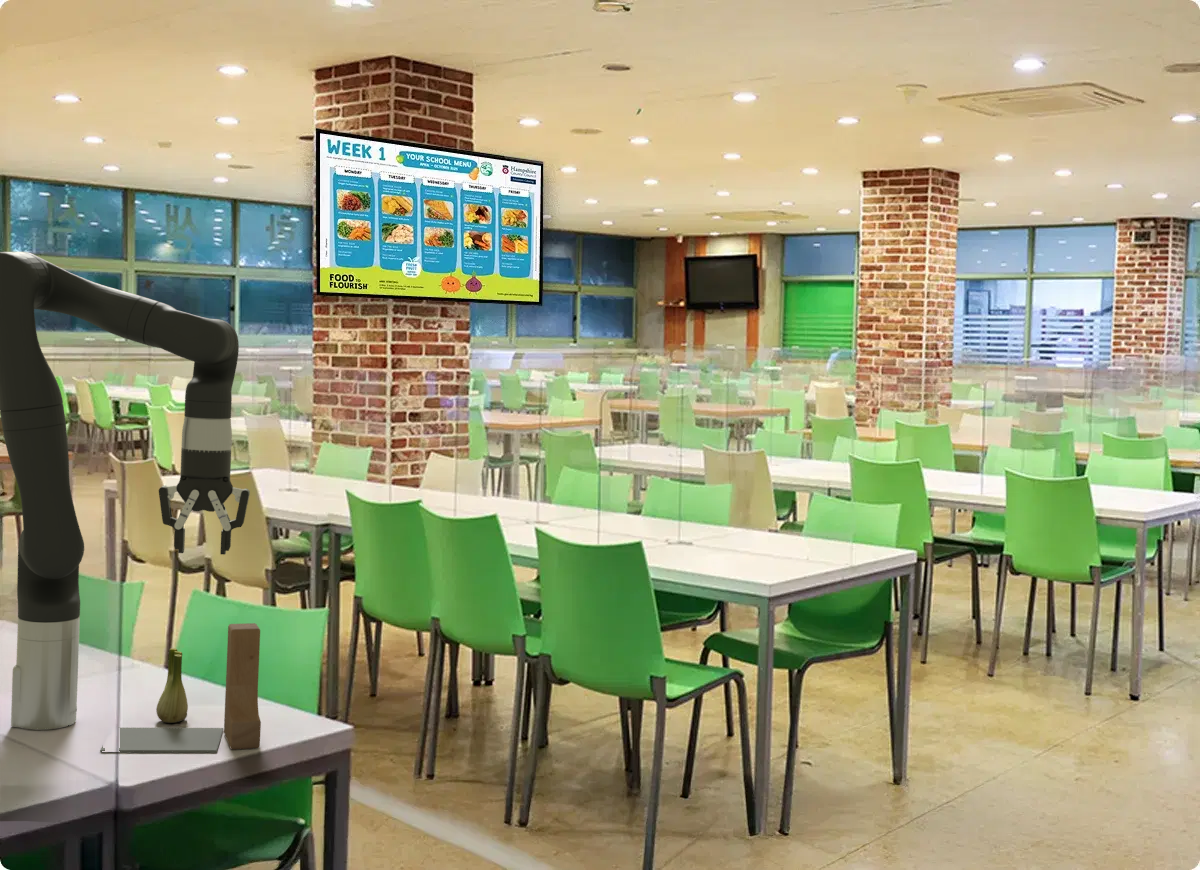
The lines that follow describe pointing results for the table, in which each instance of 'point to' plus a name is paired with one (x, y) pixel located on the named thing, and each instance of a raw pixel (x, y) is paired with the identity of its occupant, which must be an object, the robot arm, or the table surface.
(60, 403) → the robot arm
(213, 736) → the mat
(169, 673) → the fennel bulb
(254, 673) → the wooden block
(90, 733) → the table surface
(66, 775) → the table surface
